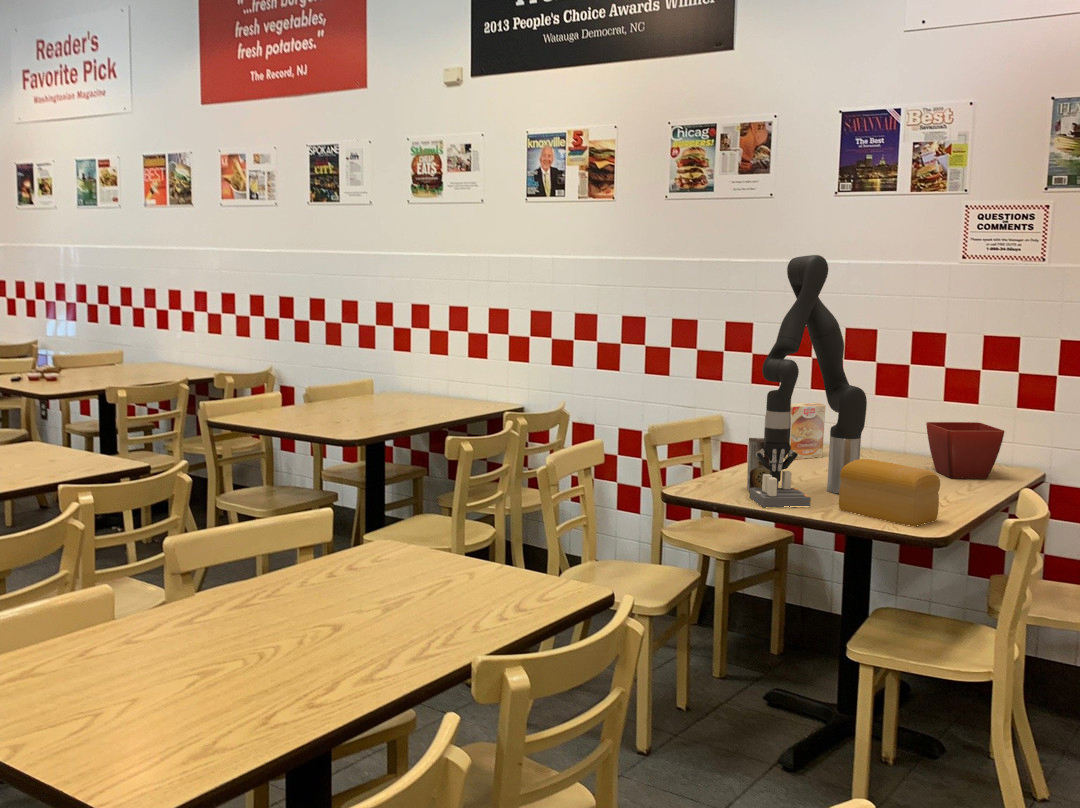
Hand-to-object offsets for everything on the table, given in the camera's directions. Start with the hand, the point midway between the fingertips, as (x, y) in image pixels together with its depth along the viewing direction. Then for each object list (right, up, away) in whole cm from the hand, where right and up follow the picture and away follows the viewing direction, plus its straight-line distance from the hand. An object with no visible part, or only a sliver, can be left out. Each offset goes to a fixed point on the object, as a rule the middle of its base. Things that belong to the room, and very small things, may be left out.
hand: (774, 482), depth 316 cm
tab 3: (+4, -2, +1) cm, 4 cm away
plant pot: (+72, -1, +41) cm, 83 cm away
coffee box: (-1, -4, +12) cm, 13 cm away
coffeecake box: (+24, +4, +68) cm, 73 cm away
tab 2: (-3, -3, -9) cm, 10 cm away
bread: (+28, -8, -17) cm, 34 cm away
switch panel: (0, -6, -4) cm, 7 cm away
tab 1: (-3, -2, -5) cm, 6 cm away
